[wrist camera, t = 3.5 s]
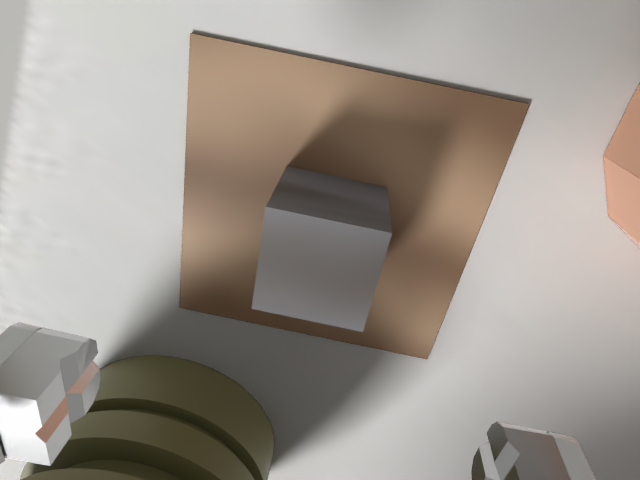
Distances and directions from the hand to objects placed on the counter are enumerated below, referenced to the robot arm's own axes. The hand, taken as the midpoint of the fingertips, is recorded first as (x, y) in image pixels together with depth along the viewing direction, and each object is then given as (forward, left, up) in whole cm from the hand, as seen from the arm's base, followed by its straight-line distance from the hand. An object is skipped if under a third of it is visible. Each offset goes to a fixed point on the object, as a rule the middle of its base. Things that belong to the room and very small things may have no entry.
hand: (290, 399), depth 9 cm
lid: (-1, 0, -11) cm, 11 cm away
